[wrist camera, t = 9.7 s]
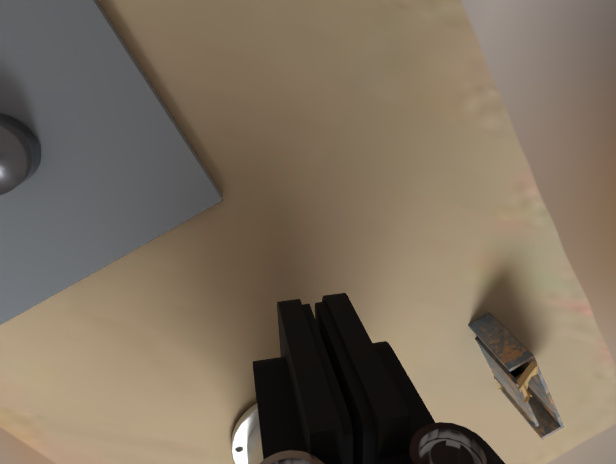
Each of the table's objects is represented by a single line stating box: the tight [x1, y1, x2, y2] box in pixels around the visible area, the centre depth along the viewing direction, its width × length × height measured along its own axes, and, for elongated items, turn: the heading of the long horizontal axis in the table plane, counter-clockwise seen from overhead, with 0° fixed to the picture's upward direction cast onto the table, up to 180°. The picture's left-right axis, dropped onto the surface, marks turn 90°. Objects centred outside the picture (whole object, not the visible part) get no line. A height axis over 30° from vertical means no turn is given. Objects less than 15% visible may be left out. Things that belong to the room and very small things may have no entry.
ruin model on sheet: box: [468, 313, 564, 439], centre depth 46 cm, size 11×3×10 cm, turn 30°
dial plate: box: [0, 0, 223, 325], centre depth 32 cm, size 22×22×2 cm
